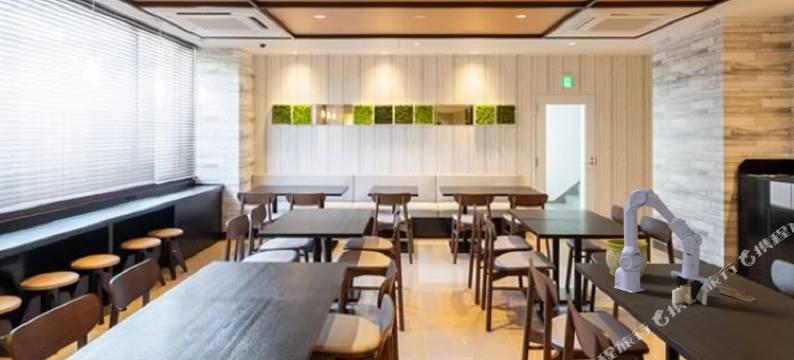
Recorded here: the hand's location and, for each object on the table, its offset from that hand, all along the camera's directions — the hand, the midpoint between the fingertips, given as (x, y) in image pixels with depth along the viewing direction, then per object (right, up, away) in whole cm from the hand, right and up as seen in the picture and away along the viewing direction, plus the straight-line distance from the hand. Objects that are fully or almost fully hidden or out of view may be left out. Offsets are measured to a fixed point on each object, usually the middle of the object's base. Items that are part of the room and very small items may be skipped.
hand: (688, 297), depth 201 cm
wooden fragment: (+24, -1, +10) cm, 26 cm away
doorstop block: (0, -1, 0) cm, 1 cm away
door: (+4, -1, -2) cm, 5 cm away
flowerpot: (-7, +1, +39) cm, 40 cm away
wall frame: (+1, -1, +1) cm, 2 cm away
